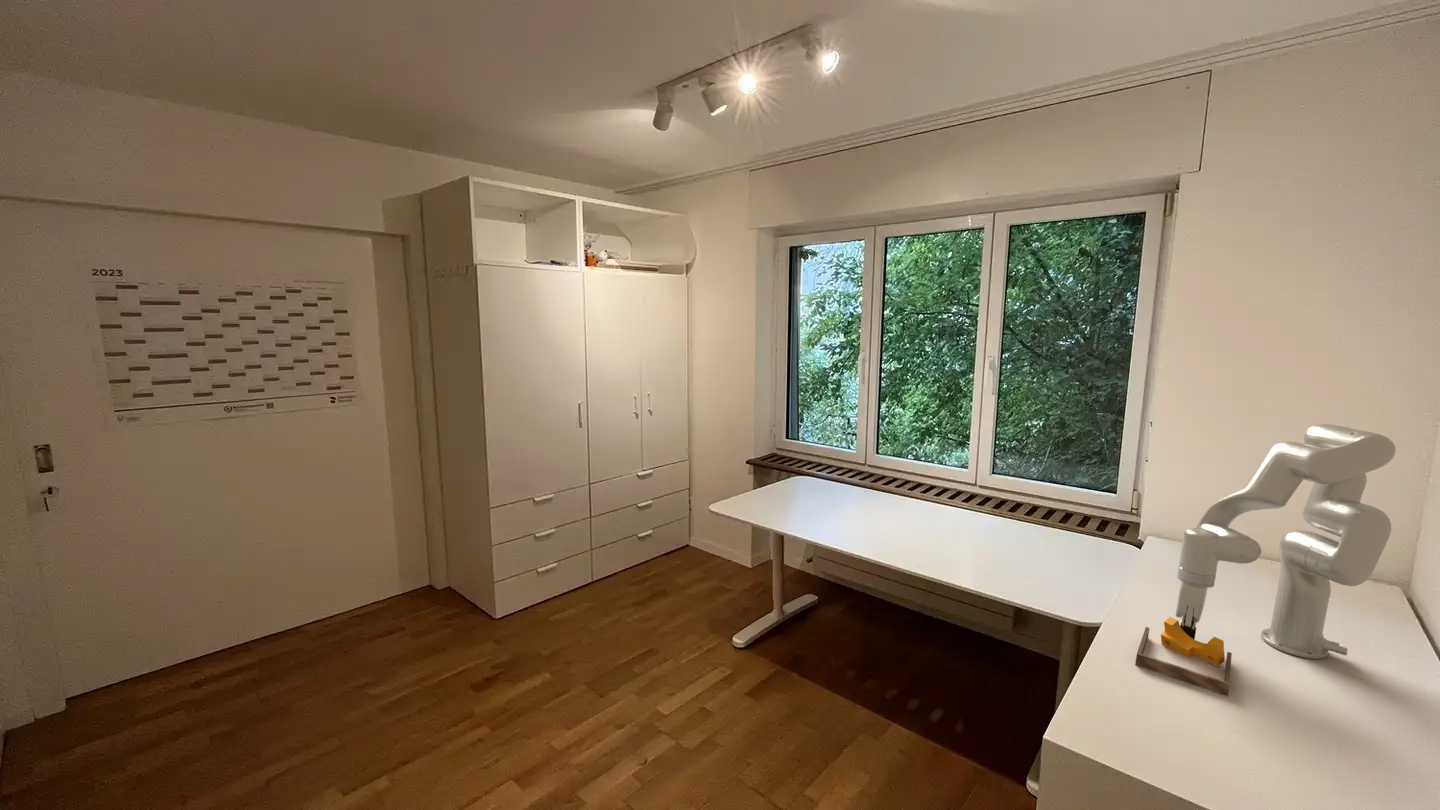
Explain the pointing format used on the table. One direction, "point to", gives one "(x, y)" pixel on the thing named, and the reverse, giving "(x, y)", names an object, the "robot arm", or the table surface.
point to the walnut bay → (1184, 670)
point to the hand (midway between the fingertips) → (1186, 639)
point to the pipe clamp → (1191, 643)
